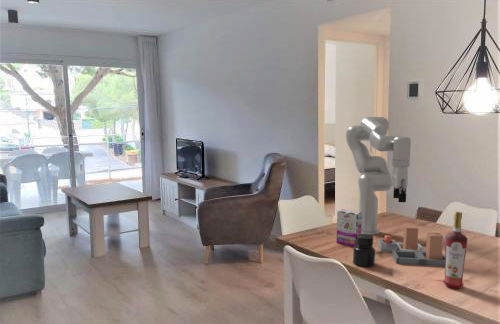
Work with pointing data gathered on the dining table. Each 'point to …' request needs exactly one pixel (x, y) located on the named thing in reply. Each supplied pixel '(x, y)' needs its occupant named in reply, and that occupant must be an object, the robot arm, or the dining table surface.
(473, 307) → the dining table surface
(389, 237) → the red egg shape
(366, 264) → the ink bottle
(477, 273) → the dining table surface
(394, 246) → the grey square holder
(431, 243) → the block
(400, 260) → the grey two-slot rack
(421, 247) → the light grey square frame
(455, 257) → the liquor
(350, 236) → the candy bar box
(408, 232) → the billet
